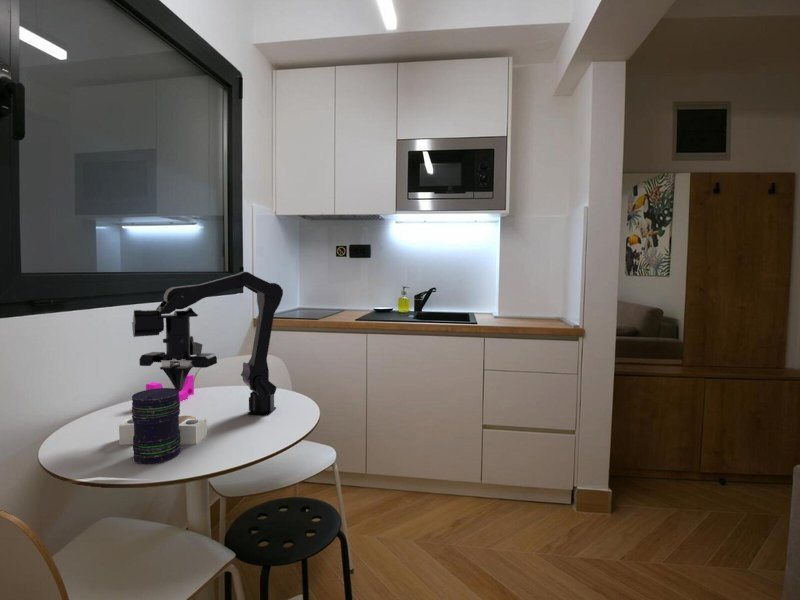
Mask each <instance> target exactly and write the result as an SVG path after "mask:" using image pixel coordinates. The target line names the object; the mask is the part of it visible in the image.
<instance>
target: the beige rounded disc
mask: <svg viewBox="0 0 800 600" xmlns="http://www.w3.org/2000/svg"><path fill="white" fill-rule="evenodd" d="M187 419H197V418H196V416H192V415H179V424H180V423H182V422H183V421H185V420H187Z"/></svg>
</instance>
